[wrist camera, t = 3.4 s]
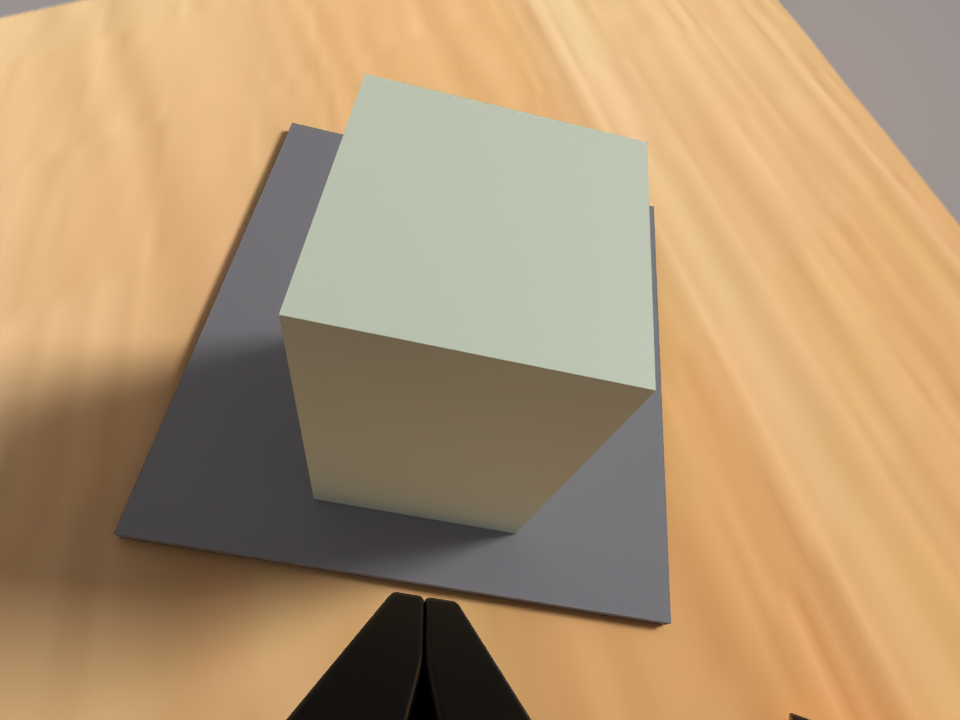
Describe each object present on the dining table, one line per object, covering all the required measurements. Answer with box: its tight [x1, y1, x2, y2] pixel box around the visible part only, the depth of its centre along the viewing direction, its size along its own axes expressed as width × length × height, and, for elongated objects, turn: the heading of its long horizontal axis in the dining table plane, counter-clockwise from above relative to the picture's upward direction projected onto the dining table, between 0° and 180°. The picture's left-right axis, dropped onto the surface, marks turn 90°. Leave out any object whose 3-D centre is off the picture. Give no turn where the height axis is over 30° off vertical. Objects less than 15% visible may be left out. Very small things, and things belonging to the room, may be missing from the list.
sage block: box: [279, 74, 656, 534], centre depth 12 cm, size 5×5×8 cm
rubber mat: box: [114, 123, 671, 625], centre depth 18 cm, size 14×13×1 cm
